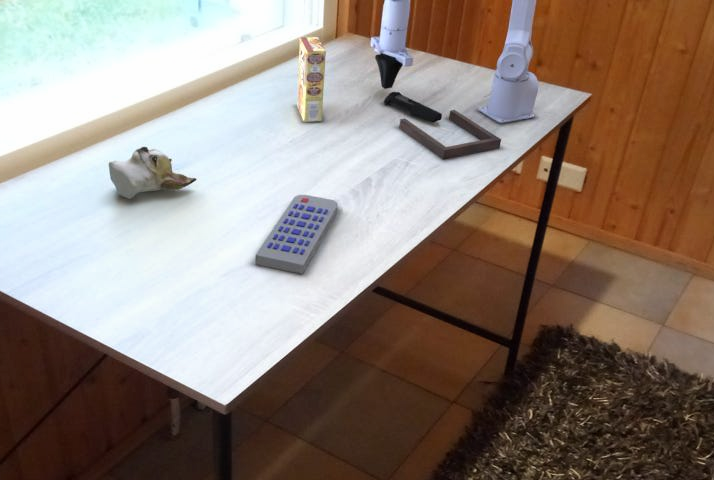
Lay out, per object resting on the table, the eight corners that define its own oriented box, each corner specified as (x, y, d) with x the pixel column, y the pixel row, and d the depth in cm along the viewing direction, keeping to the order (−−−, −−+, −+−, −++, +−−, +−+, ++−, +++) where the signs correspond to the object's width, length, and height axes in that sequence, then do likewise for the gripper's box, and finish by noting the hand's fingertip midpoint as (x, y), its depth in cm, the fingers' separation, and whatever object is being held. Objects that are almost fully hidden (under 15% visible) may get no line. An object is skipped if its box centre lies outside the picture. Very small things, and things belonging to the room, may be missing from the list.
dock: (452, 118, 178) (454, 109, 176) (499, 148, 166) (501, 139, 165) (398, 127, 173) (400, 119, 172) (442, 159, 161) (444, 150, 160)
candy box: (322, 122, 174) (327, 50, 165) (302, 122, 174) (306, 51, 165) (314, 105, 181) (318, 36, 172) (295, 106, 181) (299, 36, 172)
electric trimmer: (431, 129, 173) (434, 115, 171) (382, 104, 183) (383, 90, 181) (444, 125, 175) (447, 111, 173) (394, 100, 185) (396, 87, 183)
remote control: (254, 265, 130) (255, 253, 128) (297, 200, 147) (298, 189, 145) (302, 275, 128) (303, 263, 126) (340, 208, 145) (341, 197, 143)
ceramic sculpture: (95, 142, 143) (170, 128, 151) (97, 187, 148) (169, 171, 156) (122, 166, 137) (199, 150, 144) (123, 212, 142) (197, 195, 149)
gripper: (361, 19, 182) (355, 78, 190) (396, 39, 171) (388, 101, 179) (388, 15, 184) (381, 74, 192) (424, 35, 174) (415, 96, 182)
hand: (386, 87), depth 186 cm, fingers closed
